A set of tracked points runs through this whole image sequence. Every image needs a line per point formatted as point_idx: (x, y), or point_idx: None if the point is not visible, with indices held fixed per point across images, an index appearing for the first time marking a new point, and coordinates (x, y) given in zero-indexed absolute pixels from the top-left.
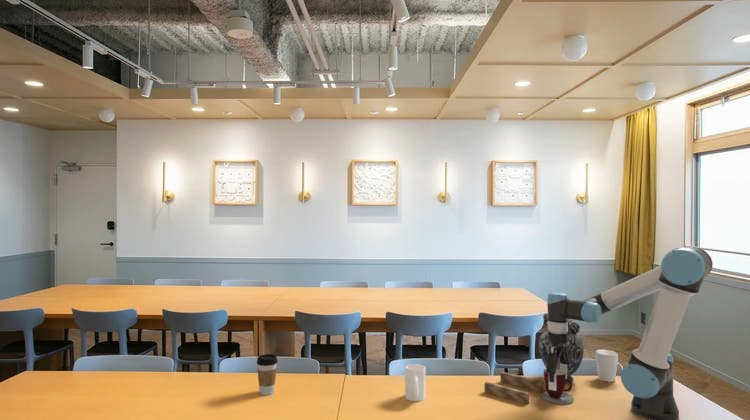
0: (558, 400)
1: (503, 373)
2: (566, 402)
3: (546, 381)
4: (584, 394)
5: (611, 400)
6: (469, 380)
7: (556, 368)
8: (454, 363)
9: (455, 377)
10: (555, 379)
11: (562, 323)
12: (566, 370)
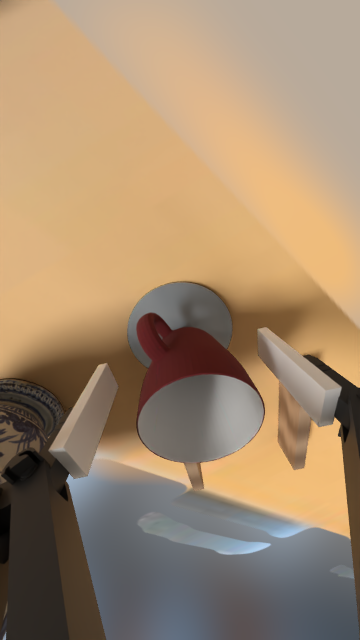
0: (205, 318)
1: (202, 483)
2: (201, 292)
3: (235, 392)
4: (57, 297)
5: None
6: (244, 482)
7: (37, 451)
8: (184, 531)
9: (250, 497)
10: (307, 360)
11: None
12: (83, 409)
